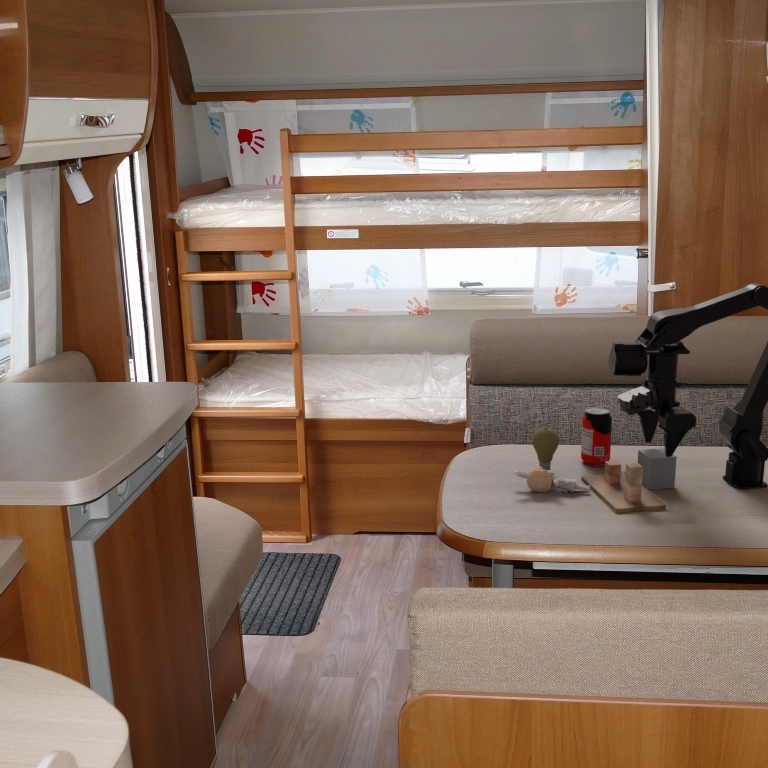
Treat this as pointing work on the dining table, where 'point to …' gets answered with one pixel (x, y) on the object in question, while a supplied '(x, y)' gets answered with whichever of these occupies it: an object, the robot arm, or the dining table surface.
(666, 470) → the matte grey box
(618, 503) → the post board
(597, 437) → the beverage can
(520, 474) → the toy
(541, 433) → the light bulb
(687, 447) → the dining table surface
